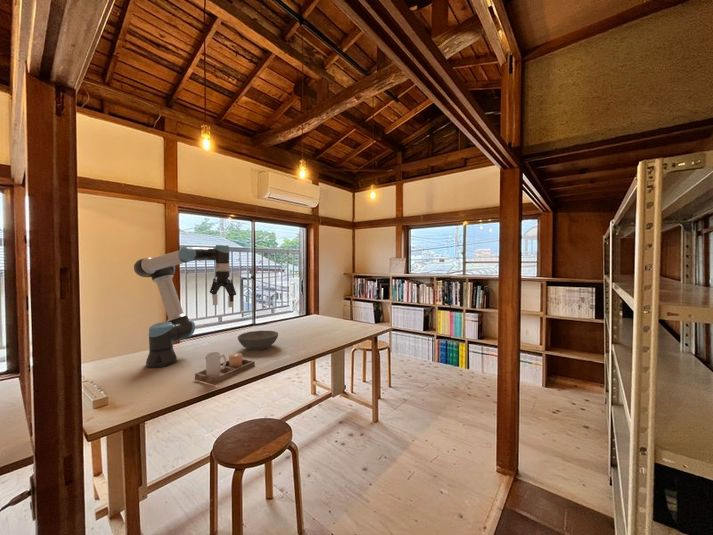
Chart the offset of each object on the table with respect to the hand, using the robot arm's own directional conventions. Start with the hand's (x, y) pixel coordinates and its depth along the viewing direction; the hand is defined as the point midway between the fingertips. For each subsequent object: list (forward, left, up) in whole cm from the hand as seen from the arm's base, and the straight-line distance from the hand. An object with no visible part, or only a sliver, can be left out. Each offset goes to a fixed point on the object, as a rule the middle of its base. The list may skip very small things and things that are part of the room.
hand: (222, 306), depth 176 cm
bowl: (+2, +28, -34) cm, 43 cm away
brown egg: (+16, -6, -33) cm, 37 cm away
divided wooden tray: (+16, -12, -33) cm, 39 cm away
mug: (+16, -18, -33) cm, 41 cm away
